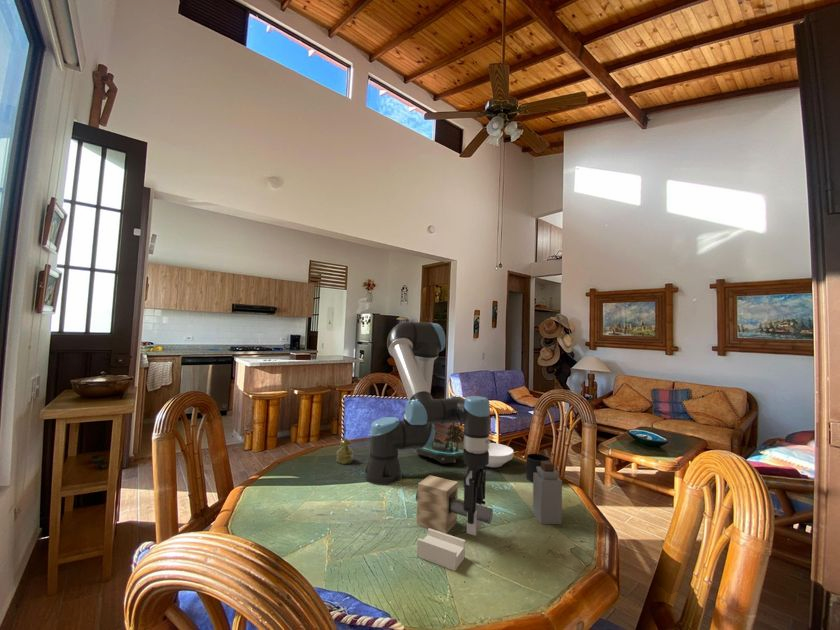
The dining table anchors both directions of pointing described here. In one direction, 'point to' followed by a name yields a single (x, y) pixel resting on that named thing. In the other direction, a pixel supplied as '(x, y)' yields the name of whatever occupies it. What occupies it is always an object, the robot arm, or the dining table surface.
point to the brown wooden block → (436, 503)
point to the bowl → (499, 454)
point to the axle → (458, 508)
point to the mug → (534, 464)
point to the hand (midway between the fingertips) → (474, 529)
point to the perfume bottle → (547, 494)
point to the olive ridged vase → (345, 452)
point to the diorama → (444, 447)
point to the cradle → (441, 549)
